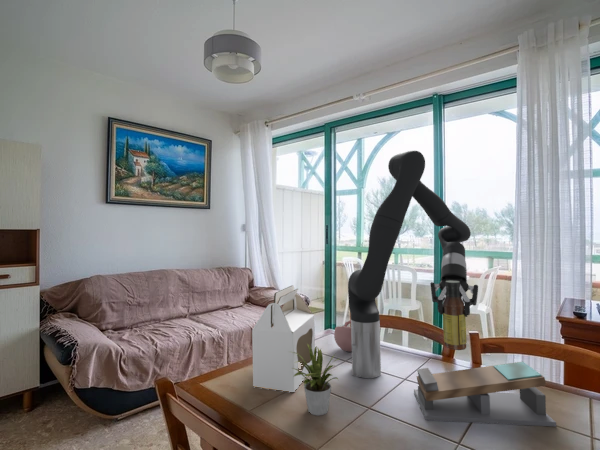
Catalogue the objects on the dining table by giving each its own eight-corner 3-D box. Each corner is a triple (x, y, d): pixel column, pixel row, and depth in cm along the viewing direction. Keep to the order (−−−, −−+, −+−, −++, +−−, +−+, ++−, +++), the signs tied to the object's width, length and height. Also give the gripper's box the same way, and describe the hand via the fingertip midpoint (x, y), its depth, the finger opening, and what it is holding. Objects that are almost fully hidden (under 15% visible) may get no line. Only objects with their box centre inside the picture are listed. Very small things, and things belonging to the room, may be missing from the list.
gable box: (293, 393, 97) (291, 295, 98) (252, 388, 101) (250, 294, 102) (315, 364, 118) (313, 284, 119) (280, 361, 122) (279, 283, 123)
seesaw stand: (425, 420, 82) (425, 396, 82) (414, 392, 96) (413, 372, 96) (556, 426, 78) (555, 401, 78) (524, 397, 92) (523, 376, 92)
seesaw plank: (426, 401, 84) (423, 385, 84) (417, 383, 94) (414, 369, 94) (546, 385, 81) (542, 368, 81) (524, 368, 90) (520, 354, 91)
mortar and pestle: (369, 347, 134) (368, 318, 134) (361, 358, 123) (360, 326, 123) (339, 344, 139) (339, 316, 139) (330, 354, 128) (329, 323, 128)
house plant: (279, 401, 93) (278, 341, 93) (324, 391, 98) (323, 334, 98) (300, 429, 79) (299, 358, 80) (351, 415, 85) (349, 349, 85)
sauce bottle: (461, 344, 104) (461, 279, 105) (470, 351, 98) (469, 282, 98) (440, 343, 105) (439, 279, 105) (446, 350, 99) (446, 282, 99)
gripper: (429, 261, 112) (426, 304, 101) (478, 263, 106) (481, 309, 95) (431, 275, 117) (428, 318, 106) (478, 278, 110) (480, 323, 100)
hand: (453, 314), depth 100 cm, fingers closed on sauce bottle, 6 cm apart
